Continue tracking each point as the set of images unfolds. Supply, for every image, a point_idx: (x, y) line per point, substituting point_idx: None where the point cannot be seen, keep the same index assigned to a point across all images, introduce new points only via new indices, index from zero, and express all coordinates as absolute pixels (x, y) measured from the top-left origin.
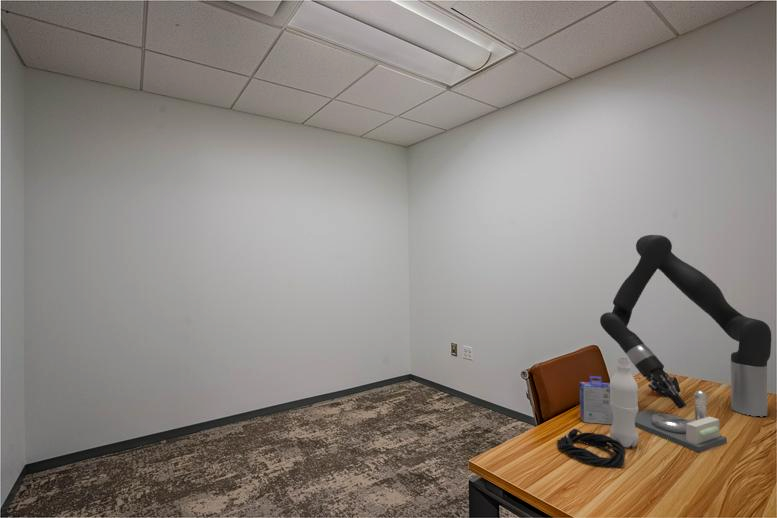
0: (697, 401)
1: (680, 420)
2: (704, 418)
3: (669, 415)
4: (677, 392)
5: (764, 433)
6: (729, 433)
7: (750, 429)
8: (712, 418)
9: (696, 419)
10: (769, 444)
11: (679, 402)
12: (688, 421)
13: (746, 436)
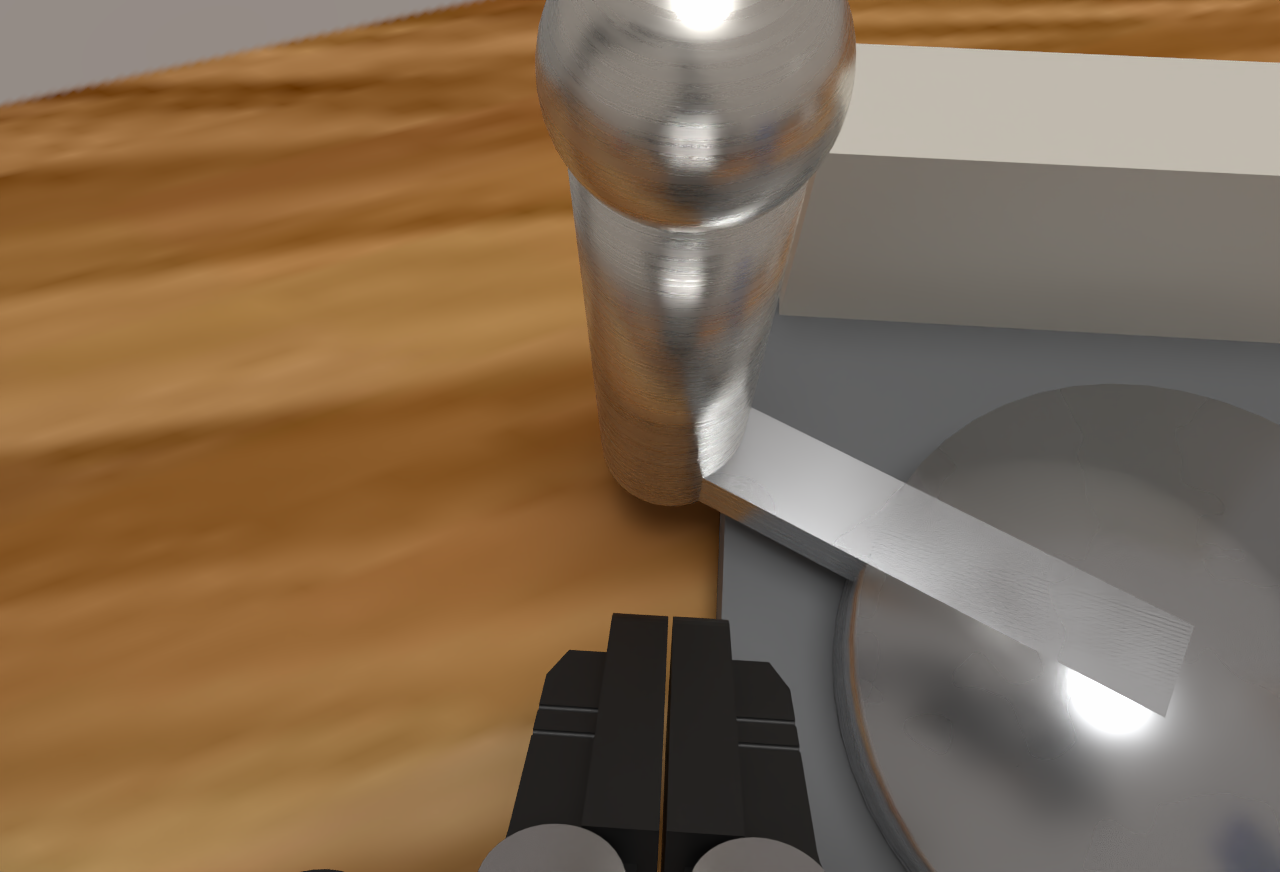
0: (798, 213)
1: (1029, 573)
2: (1018, 153)
3: (987, 816)
4: (564, 862)
5: (43, 132)
6: (387, 298)
7: (18, 234)
8: (878, 101)
9: (743, 439)
10: (367, 29)
11: (764, 706)
12: (930, 485)
13: (320, 185)
